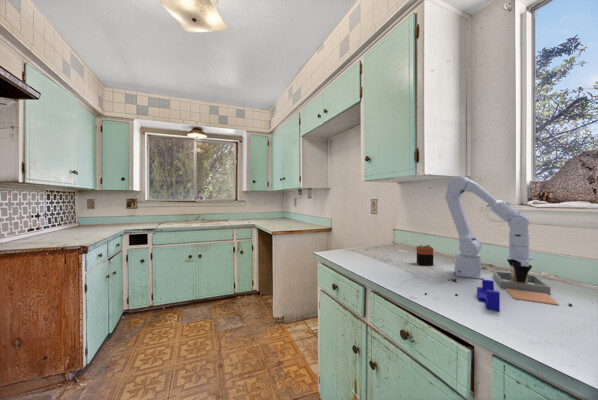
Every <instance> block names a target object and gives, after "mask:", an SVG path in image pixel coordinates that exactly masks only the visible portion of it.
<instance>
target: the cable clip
mask: <svg viewBox="0 0 598 400" xmlns="http://www.w3.org/2000/svg"><path fill="white" fill-rule="evenodd" d="M481 281H482V282H481V284H482V285H481V286H482V287H481V286H477V287H476V295H477V298H478V299H477V300H478V302H484V304H485V306H486V309H487V310H489V311H495V312H500V311H501V310H500V301H501V299H500V298H501V296H500V295H501V293H500V291H499V290H495V288H494V287H495V286H494V285H495V283H494V280H491V279H484V278H483V279H481Z"/></svg>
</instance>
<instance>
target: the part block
mask: <svg viewBox="0 0 598 400" xmlns="http://www.w3.org/2000/svg"><path fill="white" fill-rule="evenodd" d="M510 273H511V279H510V282H516V283H525V284H529V283H528V282H529V281H528V275H529V273H528V274H527V277H526V280H525V282H518V281H517V279H516V274H515V270H514V267H513V265H511V267H510Z"/></svg>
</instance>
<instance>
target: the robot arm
mask: <svg viewBox="0 0 598 400" xmlns="http://www.w3.org/2000/svg"><path fill="white" fill-rule="evenodd" d="M465 192H468V193H473V194H474V195H476V196H477V197H479V198H480V199H482V200H483V201H484V202H485V203H487V204H488V205H489V207H490V210H491V211H492V212H493V213H494V214H495V215H496V216H498V217H499V218H500V219H501V220H502V221H504V222H507V225H508V227H509V233H508V248H509V250H508V254H509V255H508V258H507V259H506V261H507V262H508V264H509V266H510V268H511V265H513V267H514V270H515V274H516V279H517V281H518V282H525V280H526V277H527V274H528V275H529V272H530V270H531V269H532V268H533V266H532V265H531V264H530V261H533V260H534V257H532V256H530V234H529V231H530V230H529V225H530V219H529V218H528V217H527V215H525V214H524V213H523V214H522V211H520V210H516V208H514V207H513V206H512V205H511V203H510V202H509V201H505V200H503V199H496V197H494V196H493V195H492V194H491V193H490V192H488V190H486V189H484V187H482V186H481V185H480V184H478V183H477V182H476V181H474V180H471V179H470V178H469V177H468V176H461V175H456V176H453V177H452V178H450V180H449V181H448V183H447V189H446V192H445V196H444V198H445V199H444V200H445V201H446V204H447V206H448V209H449V210H448V211H449V213H450V215H451V217H452V220H453V223H454V225H455V229H456V231H457V234H458V242H459V252H460V253H455V255H454V273H455V275H456V276H457V277H464V278H471V279H480V280H482V279H484V277H483V274H482V273H481V271H482V266H481V263H482V261H481V259H482V257H481V254H480V251H481V249H482V243H480V241H479V240H478V239H477V238H476V236H475V234H474V233H473V232H472V229H471V226H470V224H469V221H468V218H467V216H466V213H465V211H464V208H463V206H462V203H461V201H460V198H461V197H462V195H463V194H464V193H465Z"/></svg>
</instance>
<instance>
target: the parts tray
mask: <svg viewBox="0 0 598 400" xmlns="http://www.w3.org/2000/svg"><path fill="white" fill-rule="evenodd" d="M492 277H493V279H494V280H495V281H496V282H497V284H498V285H499V287H500V288H501V289H506V288H507V289H515V290H522V291H530V292H538V293H545V294H548V295H551V286H550V285H549V284H547V282H545V281H544V280H542V279H541V278H539V277H538V276H537V275H534V274H528V282H531V283H528V284H525V283H516V282H511V281H507V280H511V272H506V271H495V270H493V271H492ZM503 279H505V280H503ZM533 283H534V284H533ZM507 289H506V290H507Z"/></svg>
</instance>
